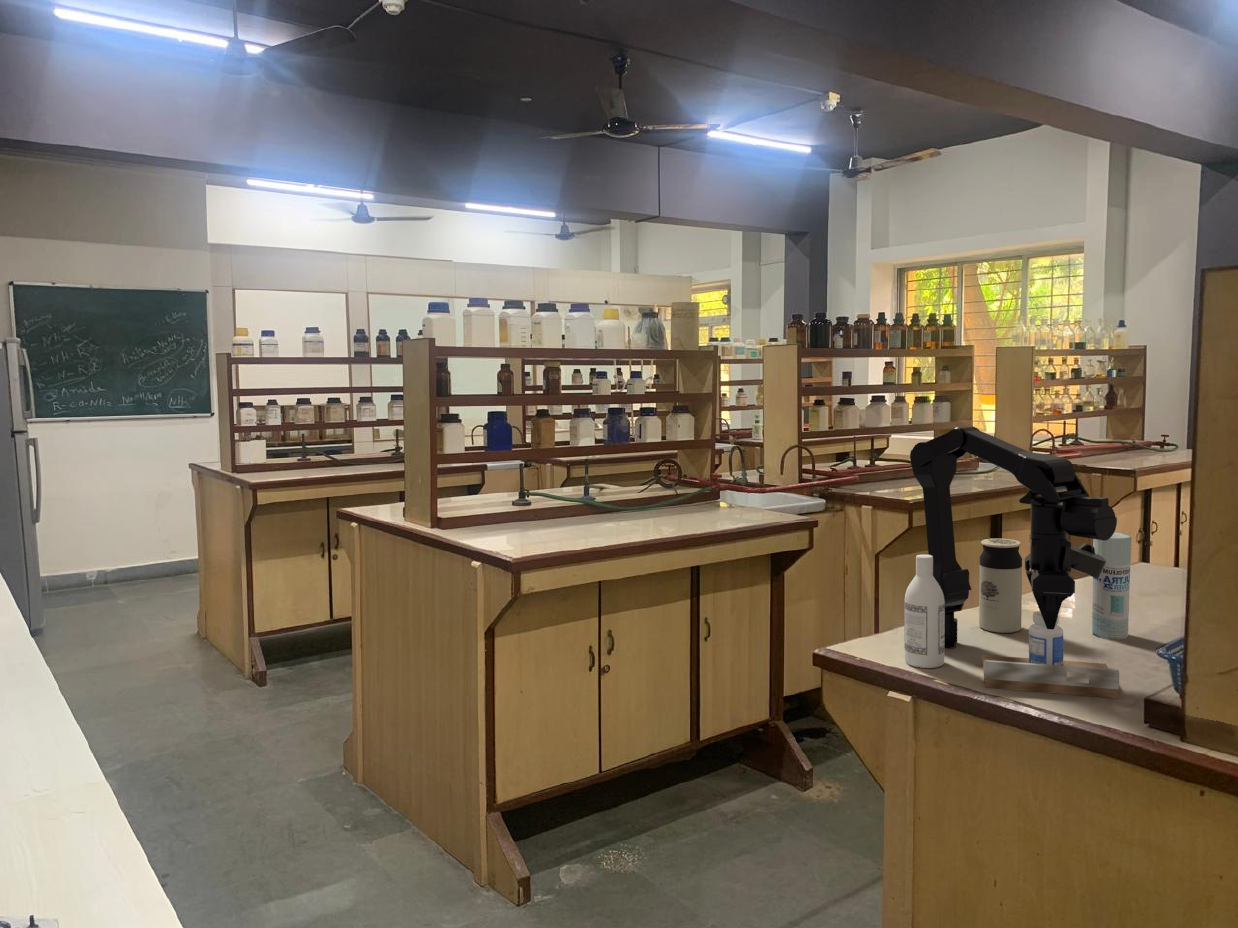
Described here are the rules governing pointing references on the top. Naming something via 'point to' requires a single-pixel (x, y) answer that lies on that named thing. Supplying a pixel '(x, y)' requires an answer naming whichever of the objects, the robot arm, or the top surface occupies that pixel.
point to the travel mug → (1000, 586)
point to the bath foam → (924, 617)
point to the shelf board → (1051, 676)
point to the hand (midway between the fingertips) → (1047, 621)
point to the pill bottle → (1045, 642)
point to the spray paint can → (1112, 588)
